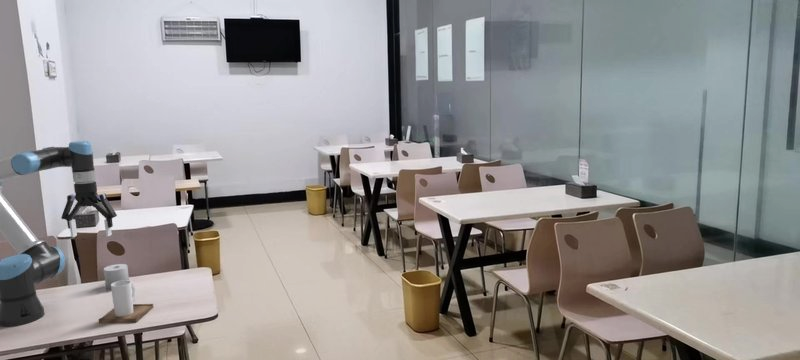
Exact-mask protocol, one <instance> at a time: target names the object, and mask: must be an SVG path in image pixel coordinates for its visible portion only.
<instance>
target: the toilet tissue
mask: <svg viewBox="0 0 800 360" xmlns="http://www.w3.org/2000/svg"><path fill="white" fill-rule="evenodd" d="M128 268H129V267H128V265H127V264H126V263H117V264H110V265H107V266H106V267H104V268H103V274H104V283H105V289H106V290H108V291H112V290H111V284H112V283H114V282H117V281H122V280H129V281H130V277H129V269H128Z"/></svg>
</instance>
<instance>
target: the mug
mask: <svg viewBox="0 0 800 360" xmlns="http://www.w3.org/2000/svg"><path fill="white" fill-rule="evenodd" d="M133 282H134V281H133V280H130V279H129V280H122V281H117V282H114V283H112V284H111V290H110V291H111V296H112V297H111V298H112V302H113V309H114V310H115V316H117V317H124V316H128V315H131V314H132V313H133V304H134V302H135V299H136V298H135V297H136V287H135V285H134V283H133Z"/></svg>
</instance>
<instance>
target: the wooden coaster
mask: <svg viewBox="0 0 800 360" xmlns="http://www.w3.org/2000/svg"><path fill="white" fill-rule="evenodd" d="M152 309H154V303H133V313H132V314H131V315H128V316H124V317H117V316H115V310H114V308H112V309H110V311H108V312H107V313H106V314H104V315H103V316H102V317H101V318H98V324H114V323H116V324H119V323H121V324H123V323H125V324H126V323H128V324H129V323H138V322H139V321H140V320H141V319H142V318H143V317H144V316H146V315H147V314H148V313H149V312H150V311H151V310H152Z"/></svg>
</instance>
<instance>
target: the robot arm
mask: <svg viewBox="0 0 800 360" xmlns="http://www.w3.org/2000/svg"><path fill="white" fill-rule="evenodd" d="M93 153H94V151H93V148H92V143H91V142H90V141H88V140H82V141H81V140H80V141H79V140H76V141H71V142H68V146H47V147H42V149H37V150H32V151H23V152H19V153H16V154H15V155H12V156H11V155H10V156H8V157H5V158H0V233H1V234H2V236H3V237H4V238H5V240H6V241H7V242H8V244H10V246H11V247H12V248H13V249H14V251H15V252H16V254H14V255H12V256H11V255H10V256H7V257H5V258H3V259H1V260H0V326H2V327H14V326H20V325H26V324H28V323H31V322H35V321H37V320H39V319H40V318H42V317H43V316H44V315H46V314H45V307H44V306H43V304H42V303H41V301H40V298H39V297H38V295H37V291H36V290H37V288H36V285H39V284H40V283H42V282H45V281H47V280H49V279H53V278H54V277H56V276H57V275H59V274H60V273H62V271H63V270H64V268H65V265H66V264H65V263H66V258H65V254H64V253H63V251H62V250H61V249H60V248H59V247H55V246H50V245H49V244H48V243H47V241H45V240H42V239H39V238H38V237H37V235H36V234H34V232H33V231H32V229H30V227H29V226H28V224H27V223H26V222H25V221H24V220H23V218H22V217H21V216H20V214H19V213H18V212H17V211H16V209H15V208H14V207H13V205H12V204H11V203H10V201H8V199H7V198H6V196H4V195H3V193H2V191H3V186H2V182H4V181H7V180H10V179H15V178H18V177H21V176H25V175H29V174H30V175H31V174H33V173H37V172H41V171H46V170H52V169H56V168H66V167H67V168H70V167H71V173H72V179H73V183H74V184H73V188H74V194H73V193H72V194H69V195H67V196H66V199H67V200H66V203H65V206H64V210H63V212H62V214H61V220H66V222H67V228H68V229H69V231H70V236H71V238H75V237H77V236H78V231H77V230H78V229H77V223H76V219H74V218H75V216H76V215H77V214H78V213H79V210H80V209H81V208H82V207H84V208H85V207H93V208H94V209H96V210H97V211H98V212H99V213H100V214H101V216H103V217H104V218H105V219H104V229H105V230H104V231H105V237H107V238H108V237H110V236H112V235H113V233H112V228H113V225H114V223H113V218H114V219H115V218H116V217H118V215H117V213H116V212H115V210H114V208H113V206H112V205H111V203H110V201H109V200H108V199H107V194H106V193H102V194H101V193H100V194H98V188H97V182H96V180H97V179H96V177H97V176H96V171H95V165H94V163H95V162H94V154H93ZM75 200H76V203H75V205H74V207H73V204H74V201H75ZM99 200H100V201H99Z"/></svg>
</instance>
